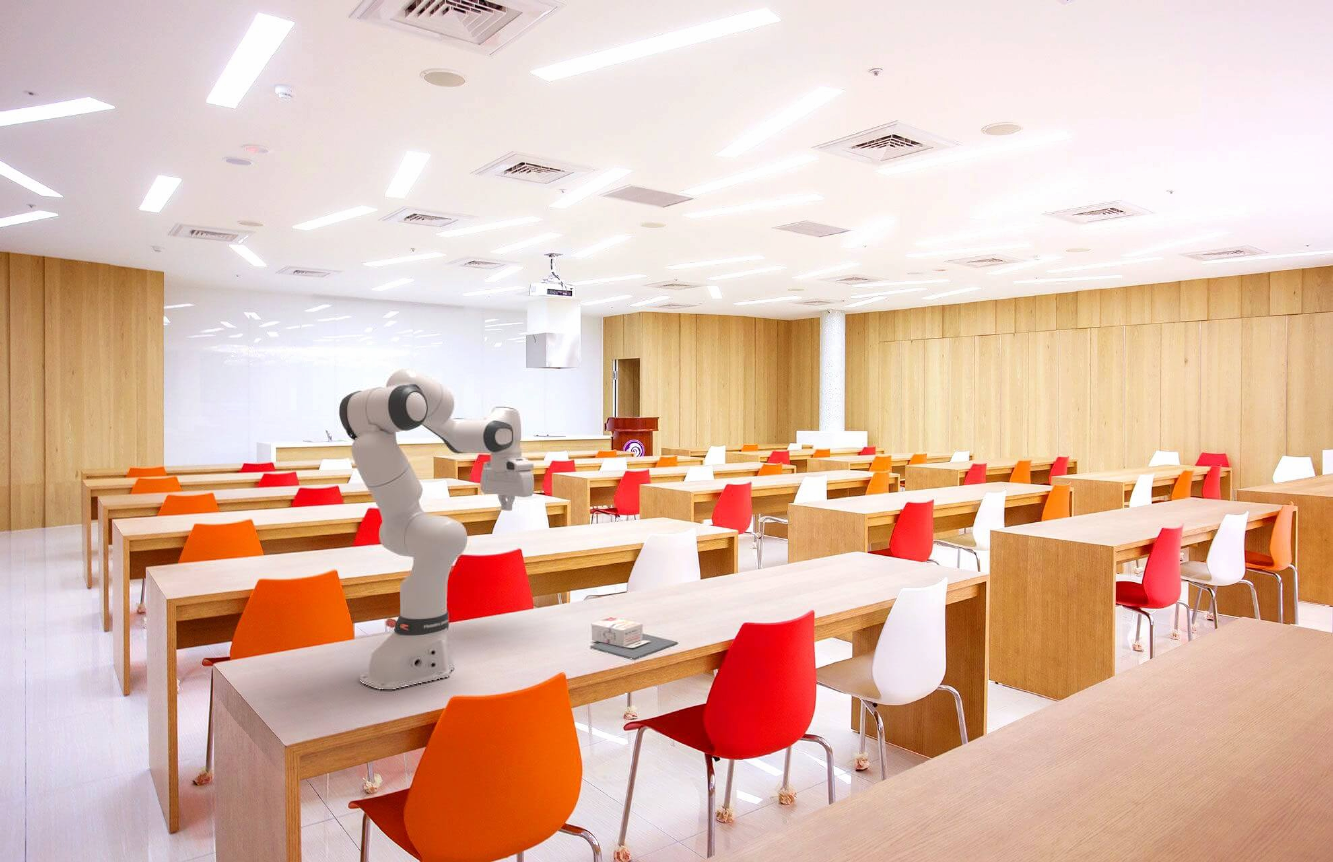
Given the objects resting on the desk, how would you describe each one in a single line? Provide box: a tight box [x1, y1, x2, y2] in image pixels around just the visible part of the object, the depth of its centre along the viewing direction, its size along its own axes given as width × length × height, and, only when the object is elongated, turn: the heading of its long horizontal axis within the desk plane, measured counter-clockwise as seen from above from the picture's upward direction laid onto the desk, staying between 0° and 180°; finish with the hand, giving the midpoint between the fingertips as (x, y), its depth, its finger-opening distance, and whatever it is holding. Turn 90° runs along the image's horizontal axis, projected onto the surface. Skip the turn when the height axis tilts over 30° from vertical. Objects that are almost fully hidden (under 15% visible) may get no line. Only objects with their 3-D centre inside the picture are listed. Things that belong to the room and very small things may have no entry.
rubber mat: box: [589, 632, 679, 660], centre depth 222 cm, size 18×16×1 cm
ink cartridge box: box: [590, 617, 650, 648], centre depth 224 cm, size 9×5×15 cm
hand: (506, 510), depth 236 cm, fingers closed
